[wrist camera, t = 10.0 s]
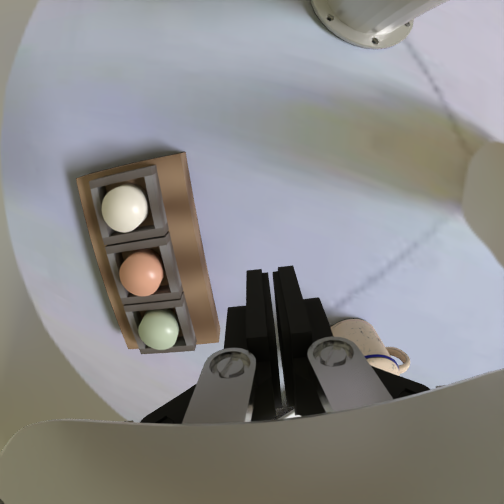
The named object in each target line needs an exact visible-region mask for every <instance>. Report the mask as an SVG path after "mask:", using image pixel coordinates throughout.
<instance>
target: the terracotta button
mask: <svg viewBox="0 0 504 504" xmlns="http://www.w3.org/2000/svg"><path fill="white" fill-rule="evenodd" d="M164 274H165V267H164V263H163V260H162V258H161V257H160V256H159V255H158V254H157V253H156V252H154V251H152V250H150V249H145V248H144V249H137V250H135V251H133V252H132V253H131V254H130V255H129V256H128V258H127V259H126V260H125V261H124V262H123V264H122V265H121V267H120V271H119V276H120V280H121V283H122V285H123V286H124V287H125V289H126V290H128V291H129V292H130V293H132V294H134V295H137V296H149V295H151V294H153V293H154V292H155V291H156V290H157V289H158V287H159V285H160V283H161V281H162V279H163V277H164Z"/></svg>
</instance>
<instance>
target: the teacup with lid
mask: <svg viewBox="0 0 504 504" xmlns="http://www.w3.org/2000/svg"><path fill="white" fill-rule="evenodd" d="M330 328H331V330H332V333H333V336H334V337H342V338H346V339H348V340H350V341H352V342H354V343H355V344H356V345H357V347H358V348H359V349H360V351H361V352H362V354H363V355H364V357H365V358H366V360H367V361H368V363H369V364H370V365H371V366H374V367H376V368H379V369H382V370H384V371H387V372H390V373H392V374H395V375H398V376H399V374H401V373H403V372H405V371H406V370H407V369H408V368H409V365H410V359H409V357H408V355H407V354H406V353H405V352H403V351H402V350H400V349H398V348H394V347H385V346H384V344H383V343H382V341H381V339H380V338H379V336H378V334H377V333H376V331H375V329H374V328H373V326H372V325H371V324H369V323H368V322H366V321H364V320H360V319H348V320H344V321H341V322H338V323H336V324H335V325H333V326H331V327H330ZM390 355H392V356H395V357H397V358H399V359H400V360H401V361H402V362H403V363H404V364H402V365H399V366H398V364H397V363H396V361H395V360H394V359H392V358H391V356H390Z"/></svg>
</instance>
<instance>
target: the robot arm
mask: <svg viewBox="0 0 504 504" xmlns="http://www.w3.org/2000/svg"><path fill="white" fill-rule="evenodd" d="M447 1H449V0H311V4H312V6H313V9H314V11H315V13H316V15H317V16H318V17H319V19H320V20H321V22H322V23H323V24H324V25H325V26H326V27H327V28H328V29H329V30H330V31H331V32H333V33H334V34H335V35H336V36H338V37H339V38H341V39H343V40H344V41H346V42H348V43H351V44H353V45H356V46H359V47H363V48H367V49H385V48H388V47H392V46H394V45H396V44H398V43H400V42H401V41H403V40H404V39H405V38H406V37H407V36H408V34H409V33H410V31H411V29H412V27H413V22H414V19H415V18H416V17H418V16H420V15H422V14H424V13H426V12H427V11H429V10H431V9H433V8H435V7H437V6H439V5H441V4H443V3H445V2H447ZM327 18H328V19H330V21H328V20H327ZM372 41H373V42H374V44H373V43H372ZM273 282H274V293H275V304H276V315H277V326H278V336H279V345H280V352H281V360H282V368H283V376H284V384H285V392H286V400H287V407H292V406H294V411H295V416H296V415H300V416H301V417H293V418H284V419H275V420H271V419H273V418H276V410H275V408H282V401H281V390H280V378H279V367H278V356H277V345H276V335H275V326H274V318H273V310H272V302H271V294H270V286H269V278H268V272H267V273H262V269H258V270H248V271H247V281H246V306H237V307H229V308H228V312H227V322H226V332H225V342H224V349H222V350H219V351H217V352H215V353H213V354H212V355H211V356H210V357H208V358H207V360H206V362H205V363H204V366H203V369H202V371H201V374H200V377H199V379H198V382H197V384H195V385H194V386H192V387H191V388H189V389H188V390H186V391H185V392H183V393H182V394H180V395H179V396H177V397H176V398H174V399H173V400H171V401H169V402H168V403H166V404H165V405H163V406H162V407H160V408H158V409H157V410H155V411H154V412H152V413H150V414H149V415H147V416H146V417H145V418H143V419H142V420H141V422H140V423H135V422H134V421H133V420H132V421H124V422H119V421H102V420H88V419H57V420H48V421H44V422H38V423H34V424H31V425H28V426H26V427H23V428H22V429H20V430H19V431H17V432H16V433H15V434H14V435H13V436H12V437H11V439H10V440H9V441H8V442H7V444H6V445H5V447H4V448H3V450H2V452H1V453H0V504H504V368H503V369H499V370H495V371H491V372H487V373H484V374H481V375H477V376H474V377H471V378H468V379H465V380H461V381H458V382H455V383H451V384H448V385H443V386H436V388H435V389H432V390H431V389H429V388H428V387H426V386H424V385H422V384H420V383H417V382H414V381H411V380H409V379H406V378H403V377H400V376H398V375H395V374H392V373H390V372H387V371H384V370H382V369H379V368H376V367H374V366H371V365H370V364H369V363H368V361H367V360H366V358H365V357H364V355H363V354H362V352H361V351H360V349H359V348H358V347H357V345H356V344H355V343H354V342H352V341H350V340H348V339H346V338H342V337H334V336H333V333H332V330H331V328H330V325H329V322H328V320H327V317H326V314H325V311H324V309H323V306H322V303H321V301H320V299H319V298H310V299H303V298H302V294H301V291H300V287H299V284H298V281H297V277H296V274H295V271H294V267H293V266H285V267H278V271H276V272H273Z"/></svg>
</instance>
